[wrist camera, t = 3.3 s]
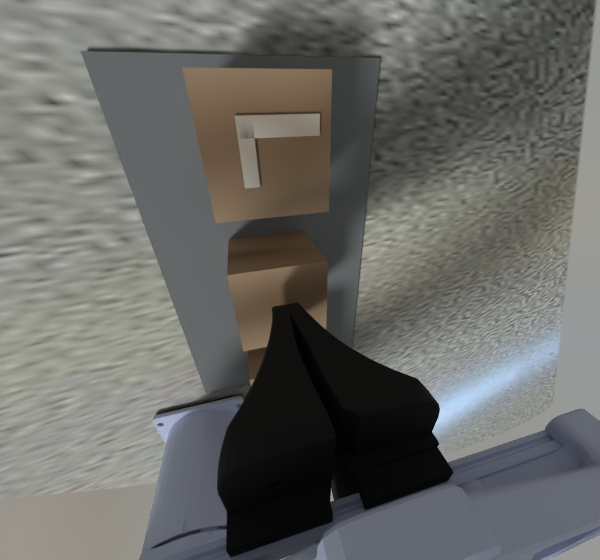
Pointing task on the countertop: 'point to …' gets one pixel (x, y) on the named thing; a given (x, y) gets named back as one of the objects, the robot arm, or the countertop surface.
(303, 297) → the plain block
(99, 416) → the countertop surface
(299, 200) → the digit block 7
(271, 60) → the mat
